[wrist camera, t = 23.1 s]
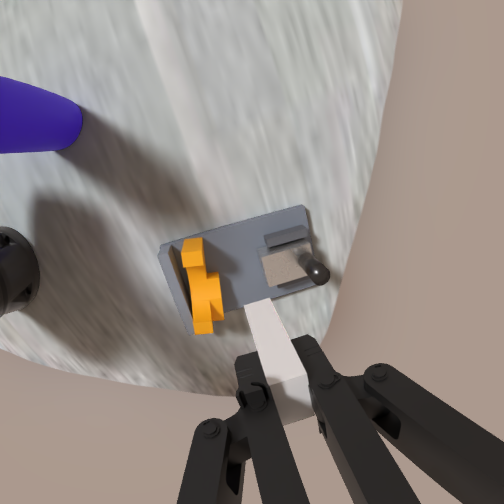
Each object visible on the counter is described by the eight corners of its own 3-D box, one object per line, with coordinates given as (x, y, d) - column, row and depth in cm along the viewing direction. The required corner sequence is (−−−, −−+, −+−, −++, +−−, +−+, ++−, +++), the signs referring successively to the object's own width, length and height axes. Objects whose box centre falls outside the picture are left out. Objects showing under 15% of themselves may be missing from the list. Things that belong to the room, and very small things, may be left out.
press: (188, 317, 49) (187, 335, 44) (161, 244, 44) (155, 256, 39) (316, 280, 50) (328, 293, 45) (301, 204, 46) (313, 210, 41)
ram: (263, 276, 46) (278, 307, 37) (256, 248, 45) (270, 274, 35) (308, 263, 47) (332, 289, 37) (302, 235, 45) (327, 256, 36)
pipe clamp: (223, 309, 47) (225, 331, 41) (195, 312, 47) (195, 334, 41) (214, 235, 44) (215, 248, 38) (184, 239, 43) (181, 252, 37)
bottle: (62, 162, 38) (-88, 187, 10) (32, 131, 35) (-113, 132, 7) (95, 118, 37) (-47, 84, 9) (63, 89, 35) (-73, 42, 6)
